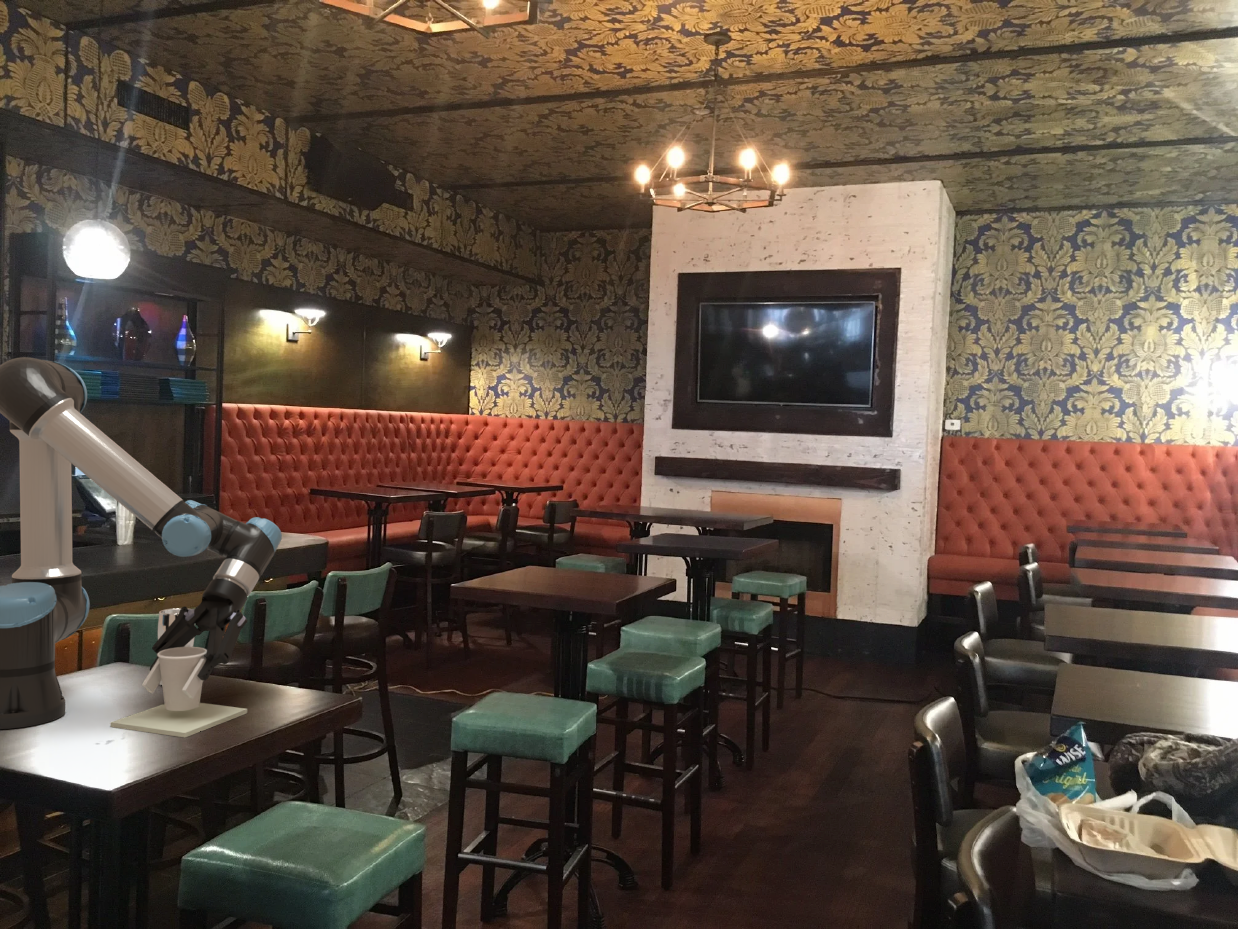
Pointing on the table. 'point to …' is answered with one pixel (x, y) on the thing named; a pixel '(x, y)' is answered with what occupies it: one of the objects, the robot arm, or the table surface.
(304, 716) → the table surface
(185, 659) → the dixie cup
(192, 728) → the sage mat
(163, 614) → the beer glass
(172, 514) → the robot arm
